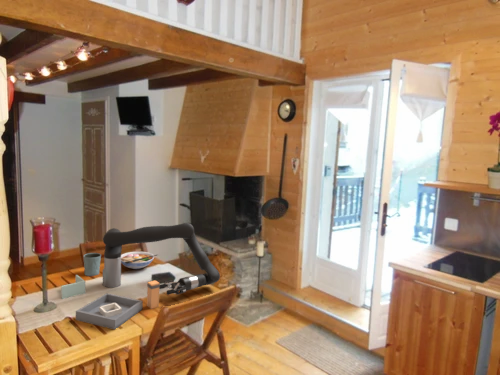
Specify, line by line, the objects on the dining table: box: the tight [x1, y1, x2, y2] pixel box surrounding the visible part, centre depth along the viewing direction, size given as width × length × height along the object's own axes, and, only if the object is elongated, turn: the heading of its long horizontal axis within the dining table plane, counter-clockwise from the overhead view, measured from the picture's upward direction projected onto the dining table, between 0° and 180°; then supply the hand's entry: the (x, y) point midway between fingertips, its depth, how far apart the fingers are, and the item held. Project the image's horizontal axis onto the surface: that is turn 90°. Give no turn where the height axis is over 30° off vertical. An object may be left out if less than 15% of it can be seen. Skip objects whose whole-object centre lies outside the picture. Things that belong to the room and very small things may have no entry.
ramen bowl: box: [121, 251, 158, 270], centre depth 245 cm, size 25×23×8 cm
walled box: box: [75, 292, 144, 330], centre depth 181 cm, size 22×22×4 cm
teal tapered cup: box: [83, 252, 102, 277], centre depth 230 cm, size 10×10×12 cm
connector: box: [146, 279, 161, 310], centre depth 192 cm, size 5×5×13 cm
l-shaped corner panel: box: [60, 274, 86, 300], centre depth 202 cm, size 12×12×8 cm
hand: (162, 290), depth 195 cm, fingers open, 8 cm apart
